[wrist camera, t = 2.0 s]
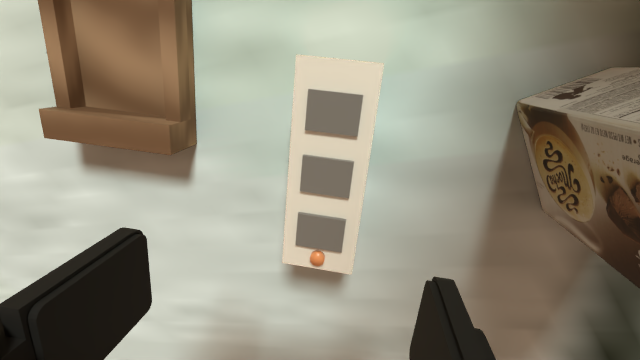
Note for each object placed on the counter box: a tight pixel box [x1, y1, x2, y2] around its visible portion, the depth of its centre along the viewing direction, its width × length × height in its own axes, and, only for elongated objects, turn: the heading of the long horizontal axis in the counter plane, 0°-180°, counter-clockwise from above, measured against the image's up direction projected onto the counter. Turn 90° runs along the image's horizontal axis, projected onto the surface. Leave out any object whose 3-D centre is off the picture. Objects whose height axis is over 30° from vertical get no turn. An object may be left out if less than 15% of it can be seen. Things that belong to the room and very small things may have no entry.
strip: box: [282, 55, 384, 275], centre depth 23 cm, size 14×5×6 cm, turn 175°
